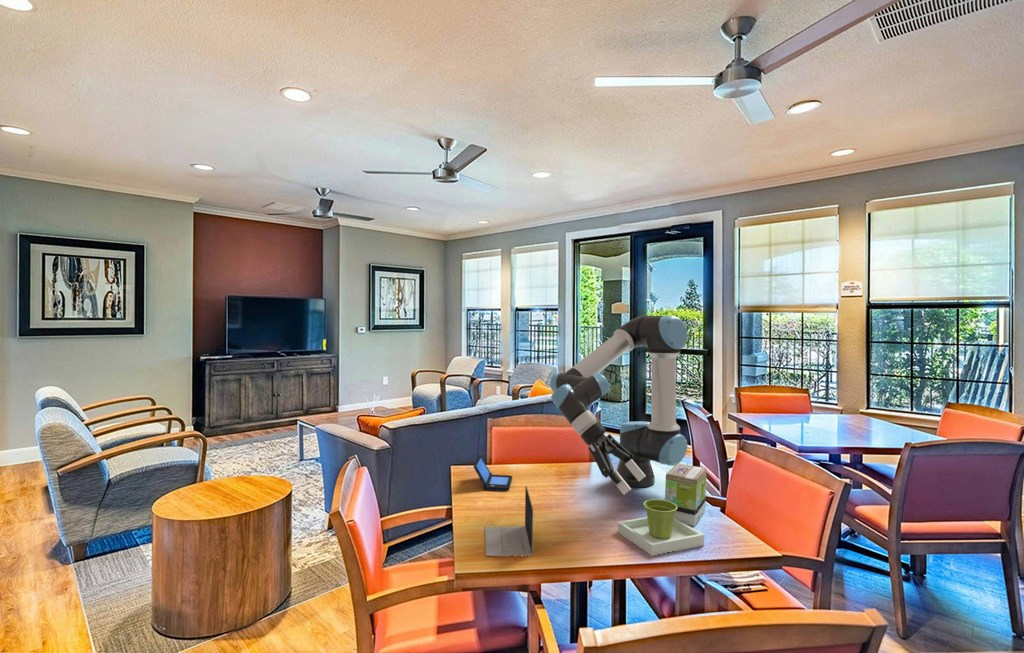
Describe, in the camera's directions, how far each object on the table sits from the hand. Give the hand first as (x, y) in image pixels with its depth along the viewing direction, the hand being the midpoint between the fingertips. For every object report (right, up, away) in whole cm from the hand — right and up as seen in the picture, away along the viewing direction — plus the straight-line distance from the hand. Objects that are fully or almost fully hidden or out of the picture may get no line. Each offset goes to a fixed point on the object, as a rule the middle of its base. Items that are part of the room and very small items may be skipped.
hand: (635, 485), depth 147 cm
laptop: (-38, -14, -6) cm, 41 cm away
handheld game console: (-44, -13, +42) cm, 62 cm away
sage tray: (+6, -14, -3) cm, 16 cm away
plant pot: (+6, -14, -3) cm, 15 cm away
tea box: (+20, -14, +14) cm, 28 cm away
